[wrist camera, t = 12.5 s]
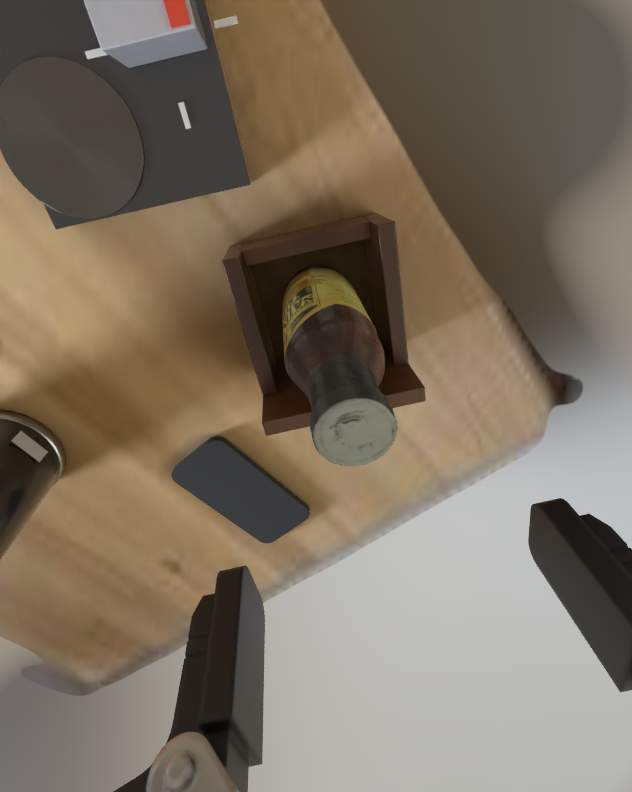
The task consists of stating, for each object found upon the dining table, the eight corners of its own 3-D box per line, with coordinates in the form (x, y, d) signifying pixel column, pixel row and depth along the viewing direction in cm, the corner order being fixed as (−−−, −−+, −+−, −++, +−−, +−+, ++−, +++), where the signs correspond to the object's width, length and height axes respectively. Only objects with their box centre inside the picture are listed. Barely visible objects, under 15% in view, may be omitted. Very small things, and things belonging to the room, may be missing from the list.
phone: (266, 546, 49) (166, 476, 43) (266, 541, 50) (167, 471, 43) (314, 514, 47) (216, 435, 41) (313, 508, 48) (217, 430, 41)
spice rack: (267, 376, 39) (266, 436, 30) (229, 246, 33) (214, 274, 25) (391, 348, 39) (425, 401, 30) (375, 212, 33) (412, 229, 24)
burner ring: (42, 230, 29) (41, 231, 29) (-36, 75, 25) (-38, 75, 24) (164, 202, 29) (164, 202, 29) (108, 41, 24) (107, 40, 24)
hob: (73, 224, 32) (54, 229, 29) (-32, -4, 25) (-69, -25, 22) (273, 178, 31) (273, 179, 28) (218, -65, 25) (212, -93, 22)
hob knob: (128, 68, 25) (99, 49, 21) (113, 26, 24) (80, -3, 20) (208, 49, 25) (195, 26, 21) (196, 5, 24) (181, -28, 20)
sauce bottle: (290, 254, 34) (308, 347, 17) (362, 272, 35) (447, 376, 18) (274, 328, 37) (275, 472, 20) (340, 342, 38) (396, 489, 21)
